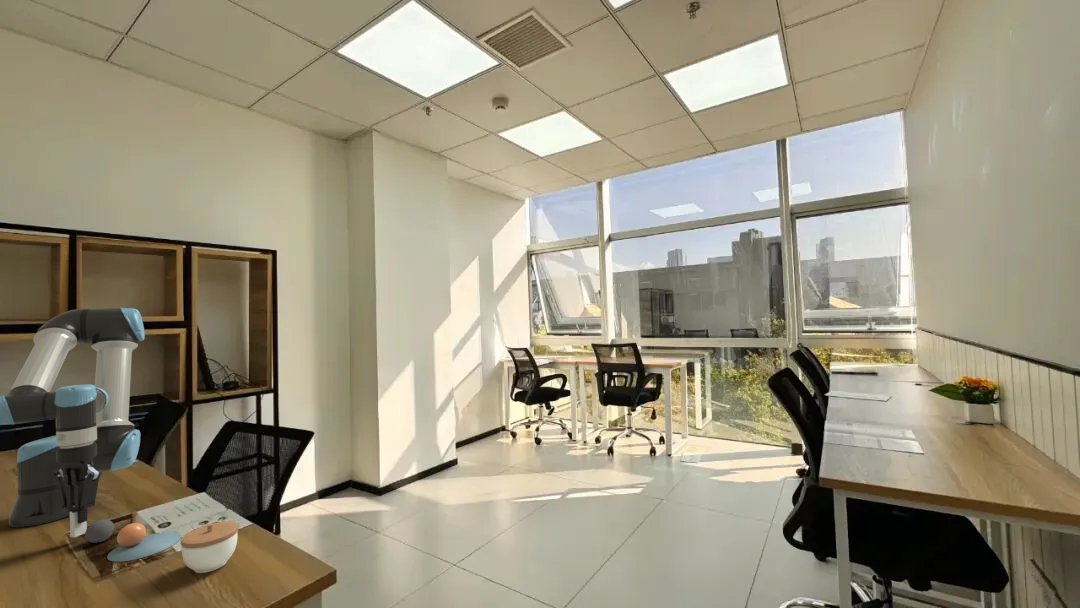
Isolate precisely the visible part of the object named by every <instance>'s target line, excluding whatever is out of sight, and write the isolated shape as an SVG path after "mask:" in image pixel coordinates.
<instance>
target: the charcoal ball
mask: <svg viewBox="0 0 1080 608" xmlns="http://www.w3.org/2000/svg"><path fill="white" fill-rule="evenodd" d="M114 530H115V524H114V523H113V522H112V520H109V519H98V520H96V521H94V522H92V523H91V524H89V525H88V526H87V529H86V532H85V533H84V538H85V539H86V541H88V542H89V543H92V544H98V542H99V543H102V542H104V541H106V540H107V539H109V538H110V537H111V536H112V535H113V532H114Z"/></svg>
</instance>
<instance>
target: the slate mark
mask: <svg viewBox="0 0 1080 608" xmlns="http://www.w3.org/2000/svg"><path fill="white" fill-rule="evenodd" d="M181 539H182V536H181V534H180V533H178V532H173V531H171V532H169V531H167V532H166V531H165V532H157V533H152V534H148V535H145V537H144V538H143V540H142V541H141V542H140V543H138V544H137V545H135V546H132V547H123V546H121V545H118V546H117V547H115V548H113V549H112V550H111V551H110V552H109V553H108V554H107V555H106V556H107V557H106V558H107V560H108V561H110V562H117V563H118V562H119V563H122V562H130V561H134V560H135V561H136V560H139V559H144V558H146V557H151V556H153V555H156V554H158V553H161V552H163V551H165V550H167V549H169V548H171V547H172V546H174V545H176V544H177V543H178V542H180V541H181Z"/></svg>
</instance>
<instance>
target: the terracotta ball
mask: <svg viewBox="0 0 1080 608" xmlns="http://www.w3.org/2000/svg"><path fill="white" fill-rule="evenodd" d="M146 534H147V529H146V527H145V525H144V524H142V523H140V522H132V523H129V524H126V525H125V526H123V527H122V528H121V529H120V530H119V532H118V534H117V536H116V541H117V542H116V543H118V546H120V545H121V546H123V547H132V546H135V545H137V544H138V543H140V542H141V541H142V540H143V538H144V537H145V536H146Z"/></svg>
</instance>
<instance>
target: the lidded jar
mask: <svg viewBox="0 0 1080 608" xmlns="http://www.w3.org/2000/svg"><path fill="white" fill-rule="evenodd" d="M238 531H239V524H238V523H236V522H235V521H218V522H213V523H209V524H205V525H203V526H202V525H201V526H200V527H197V528H195V529H194V528H193V529H192V530H190V531H189V532H187V533H186V534H184V535H183V536H181V538H180V547H181V555H182V559H183V562H184V564H185V565H186V567H187V568H188V569H191V570H193V571H194V573H196V574H206V573H211V572H212V571H216V570H218V569H220V568H222V567H224V566H225V565H226V564H227V563H228V560H229V559H230V558H231V557H232V555H233V554H234V553H235V550H236V547H237V544H238V536H239V535H238V533H239V532H238Z"/></svg>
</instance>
